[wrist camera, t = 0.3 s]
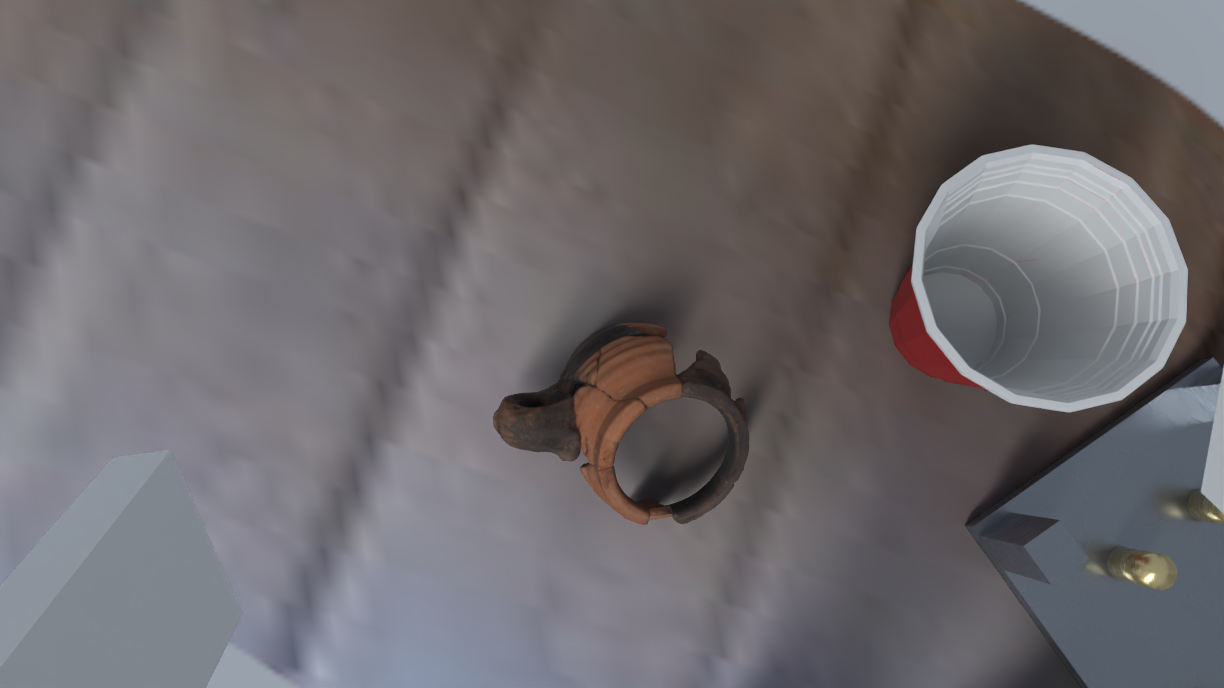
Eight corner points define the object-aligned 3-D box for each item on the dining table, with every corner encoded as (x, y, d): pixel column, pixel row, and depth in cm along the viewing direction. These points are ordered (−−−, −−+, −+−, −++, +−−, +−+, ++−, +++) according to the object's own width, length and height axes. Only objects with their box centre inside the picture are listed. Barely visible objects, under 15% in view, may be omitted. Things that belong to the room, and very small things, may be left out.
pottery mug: (704, 300, 47) (771, 350, 39) (700, 461, 50) (762, 535, 42) (477, 321, 44) (503, 379, 36) (488, 490, 47) (514, 576, 39)
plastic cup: (1076, 258, 46) (1231, 191, 34) (1014, 454, 45) (1153, 454, 33) (878, 189, 47) (962, 99, 35) (812, 380, 46) (876, 354, 34)
